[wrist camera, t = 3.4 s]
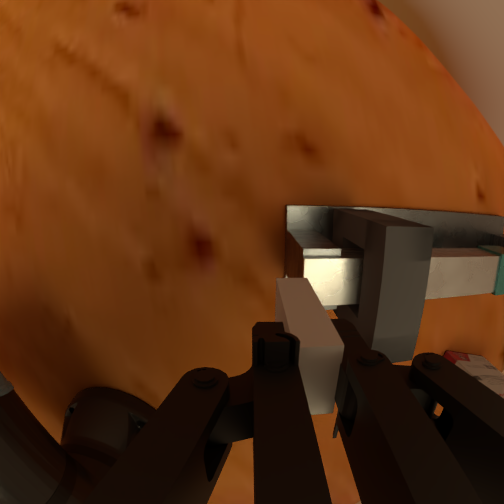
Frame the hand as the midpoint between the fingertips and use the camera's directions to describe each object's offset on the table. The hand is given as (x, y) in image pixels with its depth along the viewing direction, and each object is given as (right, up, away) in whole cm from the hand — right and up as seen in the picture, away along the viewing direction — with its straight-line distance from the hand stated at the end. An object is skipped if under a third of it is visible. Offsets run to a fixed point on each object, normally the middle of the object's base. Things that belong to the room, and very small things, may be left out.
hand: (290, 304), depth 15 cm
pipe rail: (+14, +3, +13) cm, 19 cm away
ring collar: (+6, +2, +10) cm, 12 cm away
